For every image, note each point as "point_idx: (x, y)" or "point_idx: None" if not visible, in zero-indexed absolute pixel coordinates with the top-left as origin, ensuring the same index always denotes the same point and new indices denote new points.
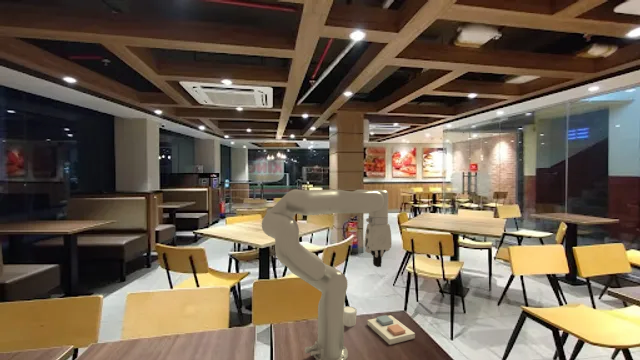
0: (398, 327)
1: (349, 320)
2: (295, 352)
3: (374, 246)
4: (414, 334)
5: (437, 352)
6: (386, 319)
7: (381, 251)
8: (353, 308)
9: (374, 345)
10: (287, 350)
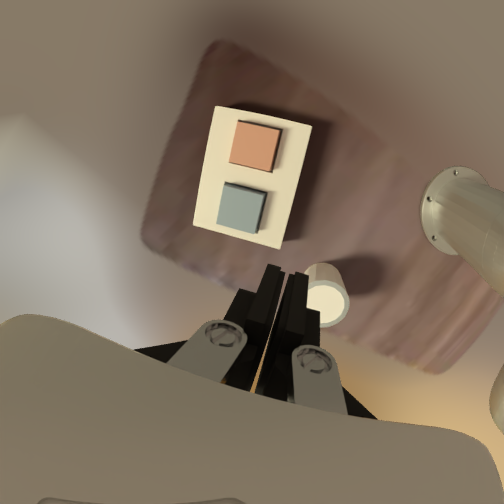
0: (243, 145)
1: (337, 276)
2: None
3: (458, 493)
4: (217, 106)
5: (218, 43)
6: (237, 203)
7: (214, 380)
8: None
9: (341, 160)
10: None
